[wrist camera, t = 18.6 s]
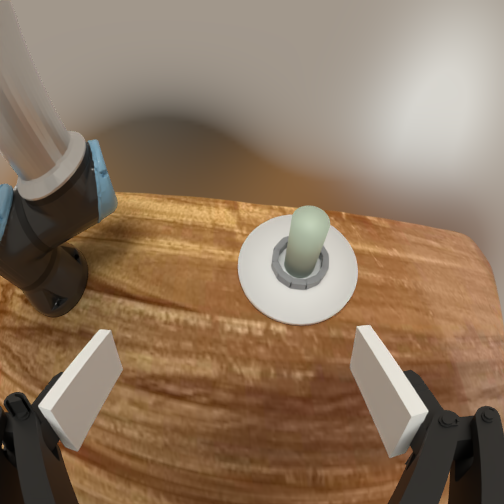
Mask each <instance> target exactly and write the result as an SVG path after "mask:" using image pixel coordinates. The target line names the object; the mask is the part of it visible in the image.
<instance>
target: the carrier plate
mask: <svg viewBox="0 0 504 504" xmlns="http://www.w3.org/2000/svg"><path fill="white" fill-rule="evenodd" d="M291 220H292V215H284V216H279V217H276V218H273V219H270V220H268V221H266V222H264V223H262V224H261V225H259V226H258V227H257V228H255V229H254V230H253V231H252V232H251V233H250V235H249V236H248V237H247V238H246V240H245V242H244V243H243V245H242V248H241V250H240V254H239V259H238V274H239V279H240V283H241V286H242V289H243V291H244V293H245V295H246V297H247V298H248V300H249V301H250V302H251V303H252V305H253V306H254V307H255V308H256V309H258V310H259V311H260V312H261V313H262V314H264V315H266V316H267V317H269V318H271V319H273V320H275V321H277V322H281V323H284V324H289V325H298V326H303V325H312V324H316V323H320V322H322V321H325V320H327V319H329V318H331V317H332V316H334V315H335V314H336V313H338V312H339V311H340V310H341V309H342V308H343V307H344V306H345V305H346V303H347V302H348V301H349V299H350V298H351V296H352V294H353V292H354V289H355V287H356V283H357V277H358V268H357V261H356V257H355V254H354V252H353V249H352V248H351V246H350V244H349V243H348V241H347V240H346V238H345V237H344V236H343V235H342V234H341V233H340V232H339V231H338V230H337V229H335V228H334V227H333V226H331V225H330V228H329V231H328V233H327V236H326V239H325V242H324V244H323V247H322V250H321V252H320V255H319V258H318V260H317V263H316V265H315V268H314V270H313V272H312V274H311V275H309V276H308V277H306V278H295V277H293V276H291V275H290V274H288V272H287V271H286V269H285V266H284V261H285V256H286V250H287V244H288V238H289V232H290V226H291Z"/></svg>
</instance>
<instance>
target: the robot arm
mask: <svg viewBox="0 0 504 504" xmlns="http://www.w3.org/2000/svg"><path fill="white" fill-rule="evenodd" d="M0 153H1V154H2V156H3V157H4V158H5V159H6V161H7V162H8V163H9V165H10V166H11V167H12V168H13V170H14V171H15V172H16V173H17V175H18V181H17V189H15V190H13V188H12V186H9V185H8V184H2V185H0V275H1V276H2V277H4V278H5V279H7V280H8V281H9V282H11V283H12V284H14V285H15V286H17V287H18V288H20V289H21V290H22V291H23V293H24V294H25V296H26V297H27V299H28V300H29V301H30V303H31V304H32V306H33V307H34V308H35V309H36V310H37V311H39V312H41V313H42V314H44V315H46V316H49V317H58V316H61V315H63V314H65V313H67V312H68V311H70V310H71V309H72V308H73V307H74V306H75V305H76V303H77V302H78V301H79V299H80V298H81V296H82V294H83V292H84V289H85V286H86V283H87V277H88V267H87V262H86V260H85V258H84V256H83V255H82V253H81V252H80V251H79V250H78V249H77V248H76V247H74V246H73V245H71V244H69V243H66V241H68V240H69V239H71V238H73V237H74V236H76V235H78V234H79V233H81V232H83V231H84V230H86V229H88V228H90V227H91V226H93V225H95V224H97V223H100V222H101V220H102V219H104V218H105V217H107V216H108V215H110V214H111V213H113V212H114V211H115V209H116V208H117V204H118V202H117V198H116V195H115V192H114V189H113V187H112V183H111V180H110V178H109V175H108V171H107V169H106V165H105V162H104V159H103V156H102V152H101V149H100V146H99V142H98V141H97V140H92V141H91V140H89V141H88V142H87V143H86V141H85V140H84V138H83V136H82V135H81V134H80V133H78V132H75V131H67V130H66V128H65V126H64V124H63V123H62V121H61V119H60V117H59V115H58V113H57V111H56V110H55V107H54V105H53V103H52V101H51V99H50V97H49V95H48V93H47V91H46V89H45V87H44V84H43V82H42V80H41V78H40V76H39V74H38V71H37V69H36V67H35V64H34V62H33V60H32V57H31V55H30V52H29V50H28V47H27V45H26V42H25V40H24V37H23V35H22V32H21V29H20V26H19V23H18V20H17V17H16V15H15V11H14V8H13V5H12V1H11V0H0ZM350 369H351V371H352V374H353V376H354V378H355V380H356V382H357V384H358V387H359V389H360V391H361V393H362V395H363V398H364V400H365V402H366V404H367V407H368V409H369V411H370V413H371V416H372V418H373V420H374V422H375V425H376V427H377V429H378V432H379V434H380V436H381V439H382V441H383V443H384V446H385V448H386V451H387V453H388V455H389V458H391V457H394V456H397V455H401V454H404V453H406V451H407V449H408V448H409V446H411V448H412V450H413V453H412V454H411V456H410V457H409V459H408V460H407V462H406V463H405V464H406V468H405V470H404V472H403V474H402V477H401V479H400V481H399V483H398V485H397V487H396V489H395V491H394V493H393V495H392V497H391V499H390V500H389V502H388V504H439V501H440V498H441V496H442V493H443V490H444V487H445V484H446V481H447V478H448V474H449V471H450V485H449V499H448V504H504V433H503V428H502V423H501V419H500V415H499V413H498V411H497V410H496V409H494V408H492V407H489V406H484V407H481V408H479V409H478V410H477V412H476V414H475V415H474V416H467V417H459V416H458V415H457V414H456V413H454V412H452V411H449V410H443V408H442V407H441V406H440V404H439V403H438V401H437V400H436V398H435V397H434V395H433V394H432V393H431V391H430V390H428V387H427V386H426V384H424V381H423V380H422V379H421V377H420V376H419V375H418V374H416V373H415V372H413V371H412V370H408V371H404V372H402V370H401V369H400V367H399V366H398V364H397V363H396V361H395V360H394V358H393V357H392V355H391V354H390V353H389V351H388V350H387V348H386V347H385V345H384V344H383V343H382V341H381V340H380V338H379V337H378V336H377V334H376V333H375V331H374V330H373V329H372V327H371V326H370V325H365V326H357V328H356V334H355V340H354V346H353V352H352V358H351V363H350ZM122 370H123V368H122V365H121V362H120V359H119V355H118V352H117V349H116V346H115V342H114V339H113V336H112V332H111V330H102V329H100V330H99V331H98V332H97V333H96V334H95V335H94V337H93V338H92V339H91V340H90V341H89V342H88V344H87V345H86V346H85V347H84V348H83V350H82V351H81V352H80V353H79V354H78V356H77V357H76V358H75V359H74V360H73V362H72V363H71V364H70V365H69V367H68V368H67V369H66V370H65V372H60V373H59V374H57V375H56V376H54V377H53V378H52V380H51V381H50V382H49V383H48V385H47V386H46V387H45V390H43V391H42V392H41V393H40V395H39V396H38V397H37V398H36V400H35V401H34V402H33V404H32V405H31V404H30V402H29V401H28V399H27V397H26V396H25V395H24V394H23V393H21V392H15V393H12V394H10V395H9V396H7V397H6V399H5V400H4V406H5V407H6V409H7V410H8V412H9V413H7V412H4V410H3V409H2V407H1V406H0V504H79V503H78V500H77V498H76V495H75V493H74V490H73V488H72V485H71V482H70V479H69V476H68V473H67V470H66V467H65V464H64V461H63V458H62V454H61V451H60V448H59V446H58V445H57V443H58V441H59V440H61V442H62V443H63V445H64V446H65V447H67V448H69V449H72V450H75V451H79V449H80V447H81V445H82V443H83V441H84V439H85V437H86V435H87V433H88V431H89V429H90V428H91V426H92V424H93V422H94V420H95V418H96V416H97V415H98V413H99V411H100V409H101V407H102V406H103V404H104V402H105V400H106V398H107V397H108V395H109V393H110V391H111V389H112V388H113V386H114V384H115V382H116V381H117V379H118V377H119V376H120V374H121V372H122ZM2 443H3V445H4V449H2Z"/></svg>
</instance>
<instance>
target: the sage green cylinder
mask: <svg viewBox="0 0 504 504" xmlns="http://www.w3.org/2000/svg"><path fill="white" fill-rule="evenodd" d="M329 228H330V219H329V217H328V215H327V214H326V213H325V212H324V211H323V210H322V209H320V208H318V207H315V206H303V207H300V208H298V209H297V210H296V211H295V212H294V213H293V215H292V220H291V226H290V232H289V238H288V244H287V250H286V256H285V261H284V266H285V269H286V271H287V272H288V274H290V275H291V276H293V277H295V278H306V277H308V276H309V275H311V274H312V272H313V270H314V268H315V265H316V263H317V260H318V258H319V255H320V252H321V250H322V247H323V244H324V242H325V239H326V236H327V233H328V231H329Z"/></svg>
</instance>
